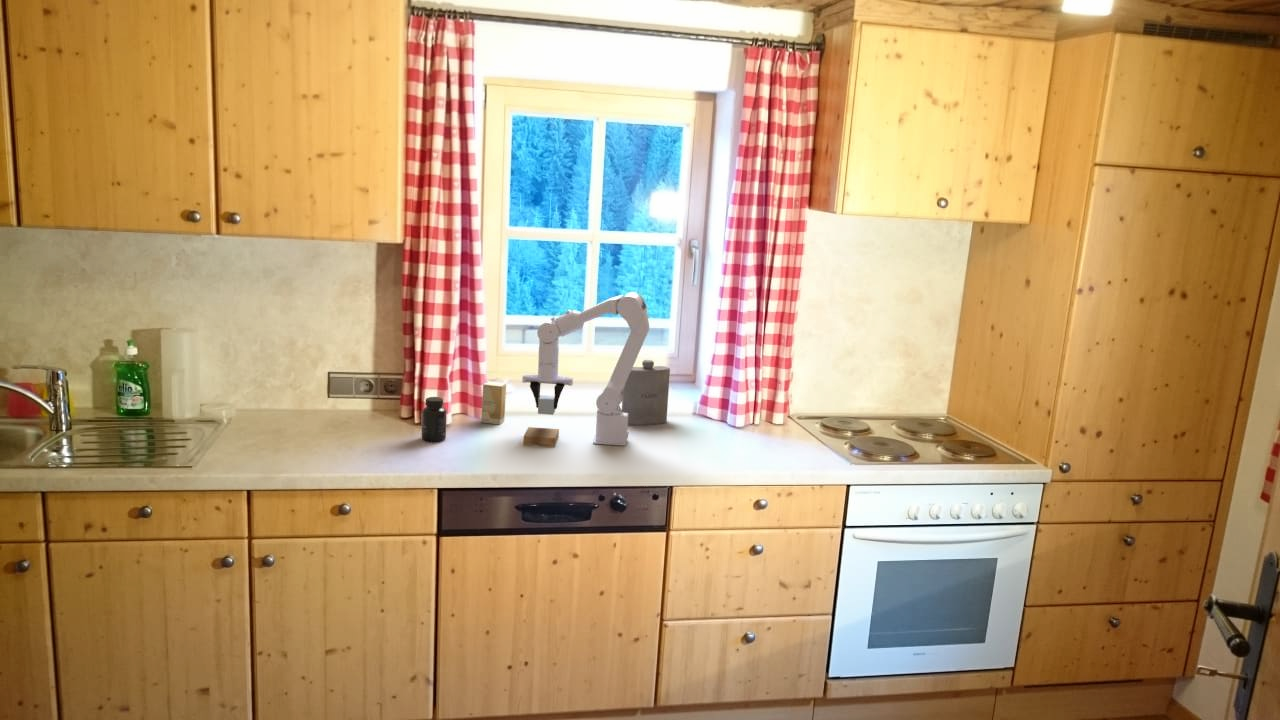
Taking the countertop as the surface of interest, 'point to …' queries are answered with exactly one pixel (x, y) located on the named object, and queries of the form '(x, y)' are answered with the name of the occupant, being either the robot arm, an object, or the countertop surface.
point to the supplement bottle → (434, 420)
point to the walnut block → (541, 436)
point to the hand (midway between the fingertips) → (546, 407)
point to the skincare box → (493, 402)
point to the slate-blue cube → (546, 405)
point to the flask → (646, 394)
